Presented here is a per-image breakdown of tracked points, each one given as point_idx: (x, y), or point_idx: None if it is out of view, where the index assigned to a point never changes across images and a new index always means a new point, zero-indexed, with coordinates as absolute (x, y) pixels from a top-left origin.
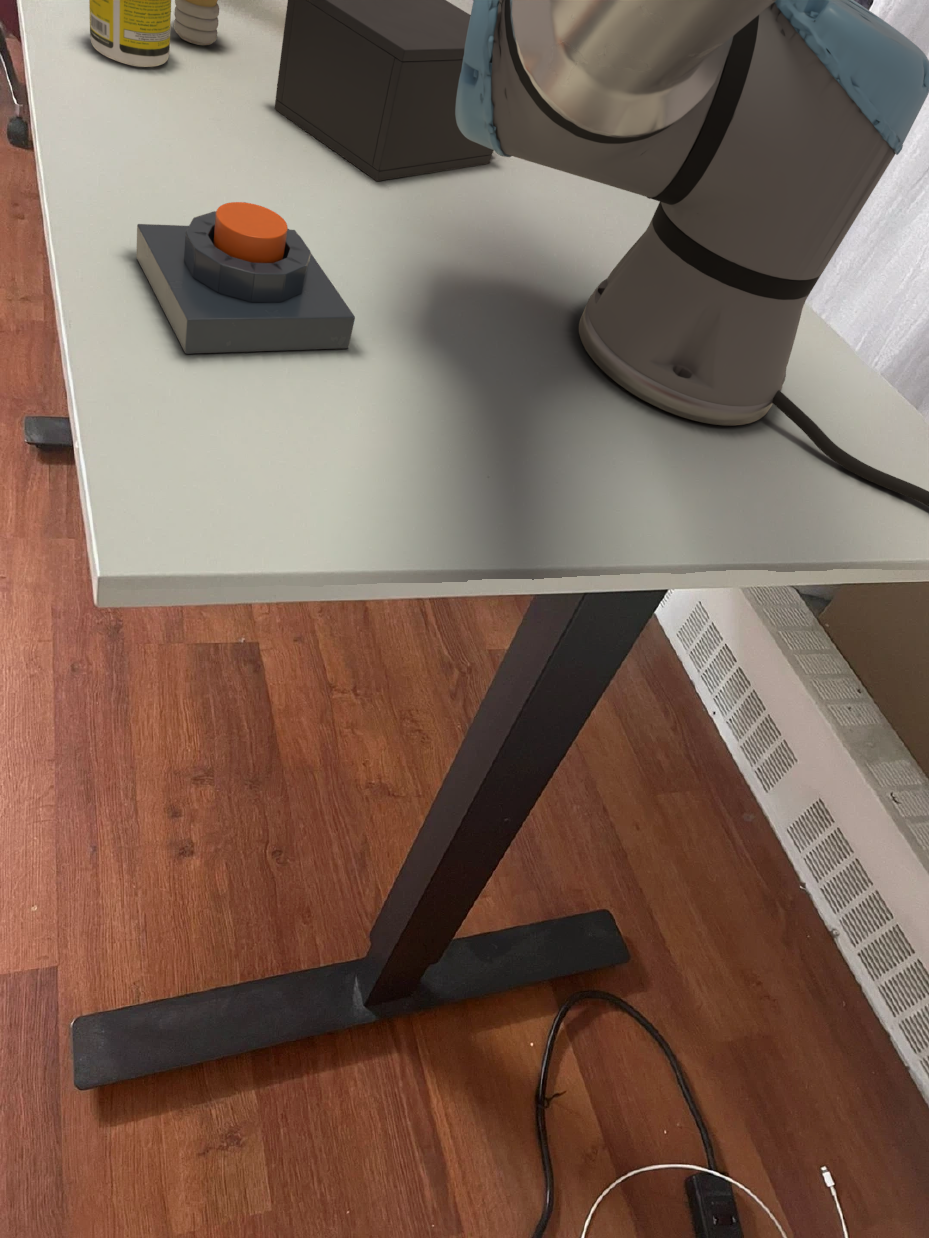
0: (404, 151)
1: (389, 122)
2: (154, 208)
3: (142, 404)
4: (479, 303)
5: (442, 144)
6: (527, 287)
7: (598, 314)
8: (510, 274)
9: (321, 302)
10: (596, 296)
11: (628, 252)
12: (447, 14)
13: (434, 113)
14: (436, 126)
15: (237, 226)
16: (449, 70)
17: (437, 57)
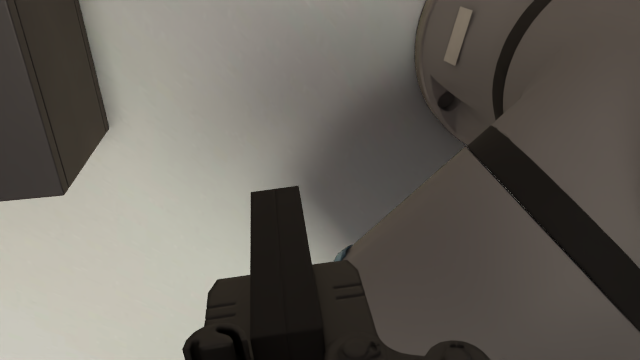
0: (91, 102)
1: (90, 155)
2: (151, 356)
3: None
4: (354, 181)
5: (71, 25)
6: (351, 105)
7: (467, 143)
8: (324, 105)
9: None
10: (447, 120)
11: (463, 101)
12: None
13: (66, 72)
14: (68, 54)
15: None
16: (43, 78)
17: (46, 119)
